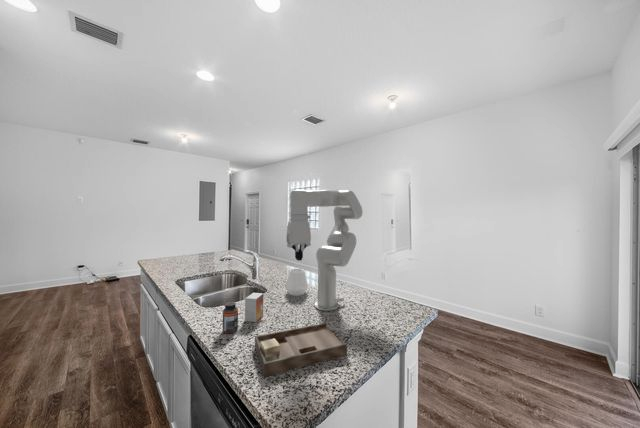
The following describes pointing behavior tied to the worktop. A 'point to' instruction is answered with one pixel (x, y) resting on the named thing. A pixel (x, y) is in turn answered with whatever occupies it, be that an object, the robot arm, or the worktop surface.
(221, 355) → the worktop surface
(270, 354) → the maple block
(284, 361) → the box
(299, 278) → the cup
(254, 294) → the small box
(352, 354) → the worktop surface
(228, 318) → the supplement bottle
